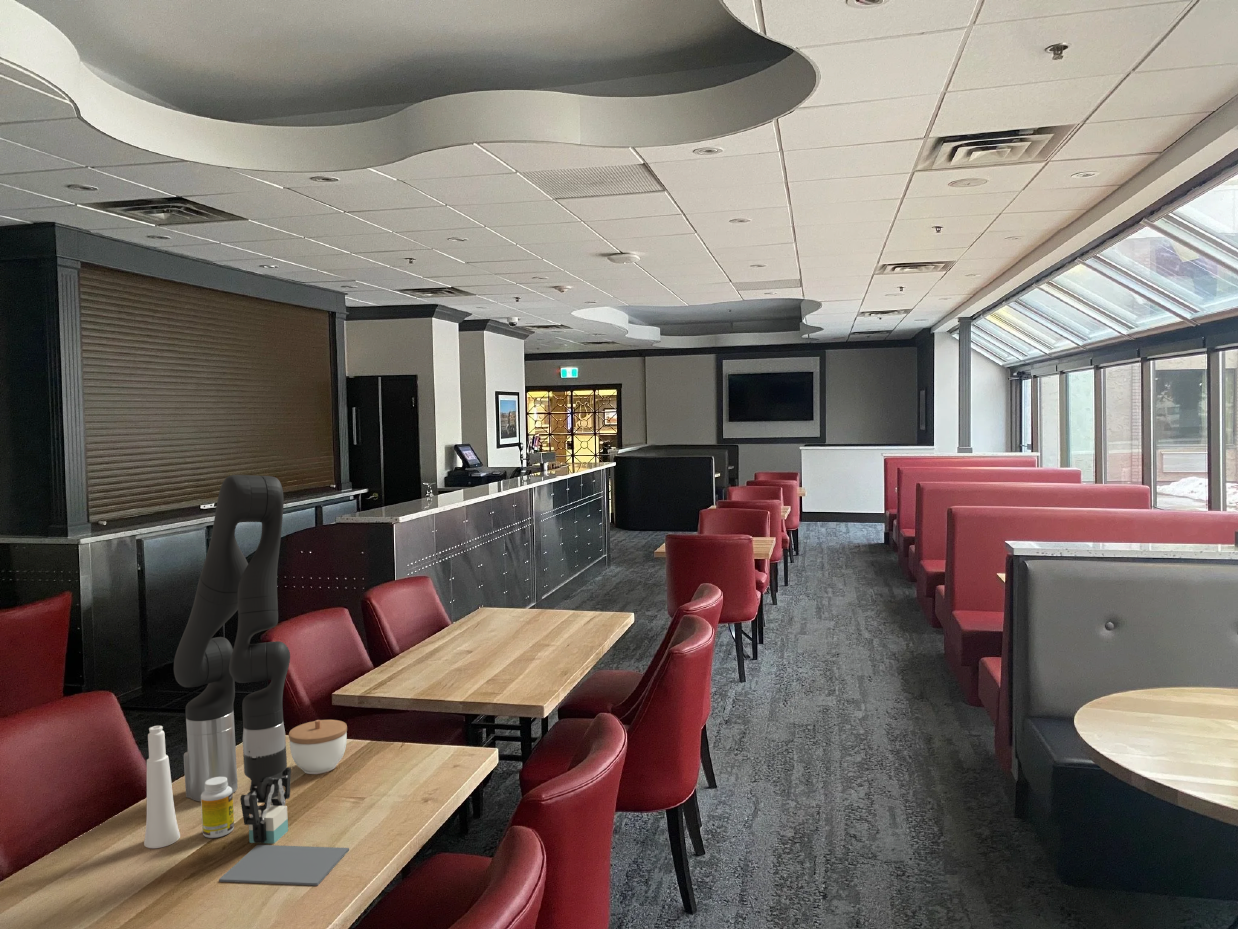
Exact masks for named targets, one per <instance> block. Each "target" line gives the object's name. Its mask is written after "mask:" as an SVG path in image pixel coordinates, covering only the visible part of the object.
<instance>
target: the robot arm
mask: <svg viewBox="0 0 1238 929" xmlns="http://www.w3.org/2000/svg"><path fill="white" fill-rule="evenodd" d="M284 498H285V496H284V490H283V485H282V483H281V481H280V480H279V478H277V477H275V476H271V475H253V474H252V475H248V474H232V475H228V476H227V477H226V478H225V479H224V480H223V481H222V484H221V486H220V488H219V492H218V497H217V503H216V509H215V515H214V520H213V526H212V530H211V536H210V541H209V544H208V545H209V546H208V549H207V553H206V556H205V560H204V563H203V566H202V569H201V573H200V574H199V579H198V584H197V587H196V592H195V596H194V600H193V603H192V607H191V612H190V614H189V618H188V621H187V624H186V627H184V628H185V629H184V631H183V634H182V636H181V638H180V641H179V644H178V646H177V649H176V652H175V655H174V659H173V675H174V678H175V681H176V682H177V683H178V684H179V686H181V687H183V688H197V687H200V686H204V685H207V686H206V687H205V689H204V690H202V692H201V693H199V694H198V695H197V696H195V697H194V698H192V699H191V700H189V701H188V703H187V704H186V706H185V723H186V738H187V741H186V742H187V751H186V752H184V753H183V765H184V767H183V768H184V769H183V771H184V784H185V785H184V786H185V798H189V799H191V800H193V801H197V802H201V794H202V793H203V792H204V791H205V782H206V781H207V780H209V779H211V778H215V777H226V778H227V782H228V786H229V787H231V788H232V792H233V793H235V792H236V791H237V790H238V773H237V772H238V771H237V770H238V768H237V751H236V734H235V733H236V732H235V715H234V714H235V713H234V703H235V699H236V698H235V697H236V691H235V690H236V687H235V686H236V685H235V682H236V683H238V684H246V683H253V682H261V681H263V682H264V681H270V683H269V684H268V685H267V686H266V687H265V688H262V689H259V690H256V691H254V692H251V693H249V694H248V695H246V696H245V697H243V700H242V704H241V705H242V708H241V710H242V725H243V726H242V727H243V732H242V754H243V755H242V756H243V757H242V758H243V773H244V775H245V776H246V777H247V778H249V780H250V787H249V792H248V793H247V794H241V796H240V797H239V798H240V799H239V800H240V805H241V806H240V807H241V812H242V818H243V824H244V825H245V826H249V825H252V826H253V839H254V842H255V843H254V844H265V843H264V842H265V841H266V839H267V838H266V822H265V818H266V812H267V810H269V808H270V805H272V806H286V800H289V799H290V797H291V780H292V779H291V778H292V776H291V775H292V774H291V773H292V769H291V767H288V766H287V765H288V761H287V760H288V759H287V758H288V756H287V745H286V744H287V740H286V739H287V738H286V731H285V725H284V724H285V722H284V710H283V708H284V707H283V697H284V696H283V695H284V688H285V683H286V678H287V673H288V670H289V667H290V663H291V653H290V649H289V647H288V646H287V644H286V643H284V642H283V641H278V640H277V641H275V640H274V641H268V642H258V643H251V639H252V638H253V636H254V635H256V634H258V633H260V632H263V631H267V630H270V629H272V628H276V626H277V625H278V623H279V609H278V608H279V606H278V604H279V601H278V565H279V557H280V556H279V555H280V549H281V548H280V547H281V540H282V538H281V537H282V527H283V520H284V519H283V518H284ZM239 523H261V535H260V540H259V543H258V545H257V547H256V550H255V552H254V553H253V556H252V557H251V559H250V561H249V563H248V560H247V559H246V557H245V555H244V554H243V552H242V550H241V548H240V547H239V544H238V542H237V539H236V535H235V533H236V527H237V526H238V524H239ZM236 612H237V614H238V615H237V617H238V618H237V620H238V621H237V629H236V630H237V632H236V637H235V641H234V645H233V646H232V644H231V642H230V640H228V638H226V637H223V636H217V637H214V636H215V634H216V633H217V632H218V631H219V630H220V629H221V628H222V627H223V626H224V625H225V624H226V623H227V622H228V621H229V620H230V619H231V618H232V617H233V616H234V615H235V614H236ZM258 804H263V806H262V805H258ZM258 810H261V815H260V817H259V811H258ZM250 815H251V816H250Z"/></svg>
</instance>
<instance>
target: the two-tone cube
mask: <svg viewBox="0 0 1238 929" xmlns="http://www.w3.org/2000/svg"><path fill="white" fill-rule="evenodd" d="M263 805H264V804H263ZM263 805H261V806H263ZM258 811H259V817H260V815H261V810H258ZM249 816H251V814H249ZM288 820H289V819H288V806H287V805H284V806H272V805H271V804H270V808H269V810H267V812H266V818H265V822H266V838H267V839H266V841H265V842H264V843H263V844H272V845H274V844H276V843H277V842H278V841H279V840H280V839H281V838H282V837H283V836H284V835H285V834H287V832H288V831H289V821H288ZM248 837H249V839H248V841H249V844H250V843H251V844H253V843H254V844H256V843H255V842H254V839H253V826H252V825H248Z"/></svg>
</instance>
